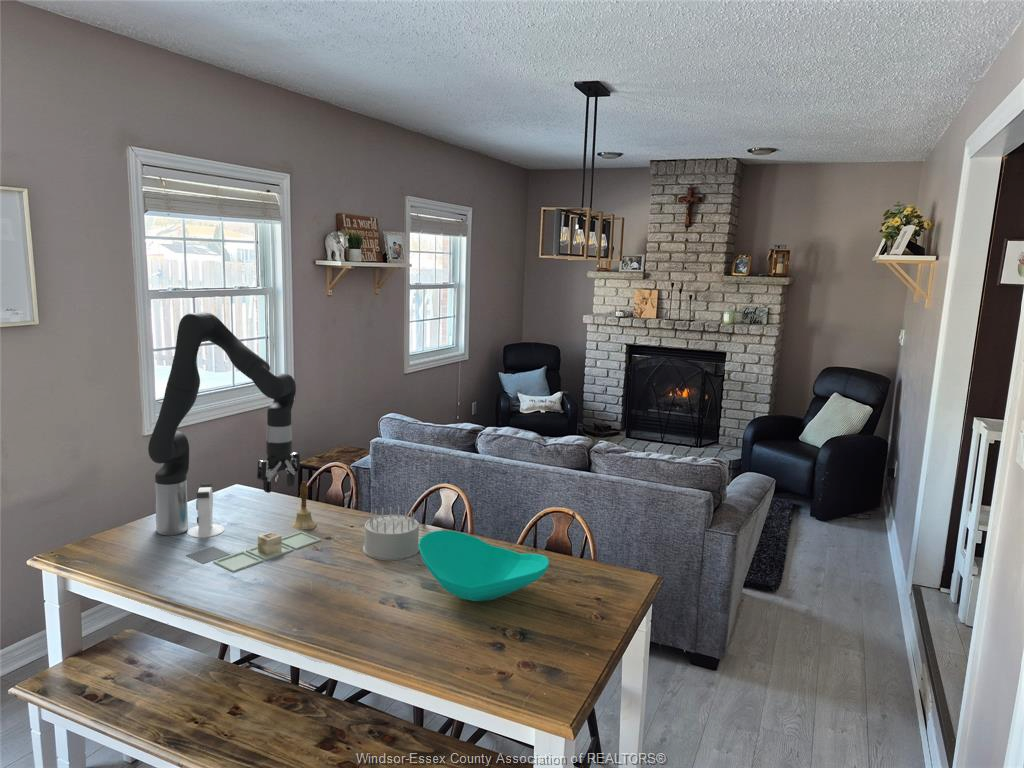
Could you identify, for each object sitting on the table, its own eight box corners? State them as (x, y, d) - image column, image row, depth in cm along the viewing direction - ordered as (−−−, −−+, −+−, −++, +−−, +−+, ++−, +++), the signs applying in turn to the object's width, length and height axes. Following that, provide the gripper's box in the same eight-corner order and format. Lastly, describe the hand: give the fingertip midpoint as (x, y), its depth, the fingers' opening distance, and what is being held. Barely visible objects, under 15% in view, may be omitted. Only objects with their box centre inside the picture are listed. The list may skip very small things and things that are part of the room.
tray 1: (213, 564, 211) (213, 560, 210) (243, 553, 219) (243, 550, 219) (233, 573, 205) (233, 570, 205) (263, 562, 213) (263, 559, 213)
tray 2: (246, 553, 219) (246, 549, 219) (273, 543, 228) (273, 540, 227) (265, 561, 214) (265, 558, 214) (293, 552, 222) (293, 548, 222)
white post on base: (189, 525, 239) (188, 482, 237) (225, 523, 243) (225, 481, 240) (185, 539, 228) (183, 494, 225) (222, 536, 231) (221, 492, 229)
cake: (410, 563, 218) (411, 522, 216) (354, 557, 220) (354, 516, 218) (426, 541, 235) (427, 503, 233) (374, 536, 238) (375, 498, 236)
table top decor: (394, 593, 198) (395, 549, 195) (451, 560, 221) (453, 520, 219) (516, 636, 178) (519, 587, 176) (565, 595, 202) (568, 551, 199)
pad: (185, 557, 214) (185, 555, 214) (213, 548, 222) (213, 546, 222) (202, 565, 209) (202, 563, 209) (230, 556, 217) (230, 554, 217)
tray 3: (276, 542, 228) (276, 539, 228) (301, 534, 236) (301, 531, 236) (295, 551, 223) (295, 548, 223) (321, 541, 231) (321, 538, 231)
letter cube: (257, 551, 220) (257, 535, 219) (271, 546, 224) (271, 531, 223) (267, 555, 217) (267, 539, 216) (281, 550, 221) (281, 535, 220)
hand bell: (289, 523, 245) (289, 479, 243) (314, 521, 249) (314, 477, 246) (293, 532, 238) (292, 486, 235) (318, 529, 241) (318, 484, 239)
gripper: (289, 432, 226) (289, 481, 229) (251, 440, 214) (251, 491, 217) (305, 436, 222) (305, 486, 225) (267, 445, 210) (267, 497, 213)
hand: (279, 488), depth 221 cm, fingers open, 8 cm apart
